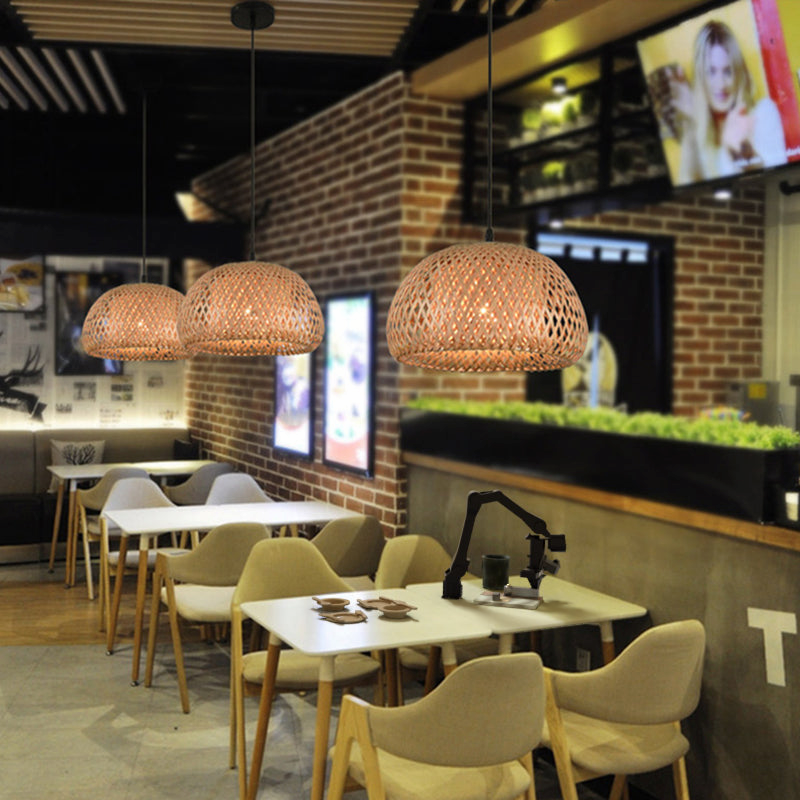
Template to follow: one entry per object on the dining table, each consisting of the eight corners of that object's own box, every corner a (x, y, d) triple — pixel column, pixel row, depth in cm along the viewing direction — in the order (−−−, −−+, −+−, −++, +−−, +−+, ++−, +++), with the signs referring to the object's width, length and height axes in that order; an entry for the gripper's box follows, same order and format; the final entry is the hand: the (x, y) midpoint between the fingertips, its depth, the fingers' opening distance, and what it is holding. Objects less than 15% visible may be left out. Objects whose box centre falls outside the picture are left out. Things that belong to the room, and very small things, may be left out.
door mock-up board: (473, 603, 367) (473, 593, 367) (484, 594, 384) (484, 585, 384) (534, 609, 361) (535, 599, 361) (542, 599, 378) (543, 590, 378)
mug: (491, 591, 390) (492, 559, 390) (470, 584, 403) (471, 553, 403) (515, 589, 396) (516, 558, 395) (494, 582, 408) (494, 552, 408)
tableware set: (391, 601, 370) (391, 589, 370) (428, 619, 344) (428, 607, 344) (299, 607, 355) (299, 595, 355) (330, 627, 329) (330, 614, 329)
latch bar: (502, 595, 376) (503, 585, 376) (504, 593, 380) (505, 583, 379) (537, 598, 372) (538, 588, 372) (539, 596, 376) (539, 586, 376)
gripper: (549, 557, 365) (547, 601, 366) (566, 550, 382) (565, 592, 382) (519, 554, 371) (518, 597, 371) (538, 547, 387) (536, 589, 387)
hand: (535, 594), depth 378 cm, fingers closed
